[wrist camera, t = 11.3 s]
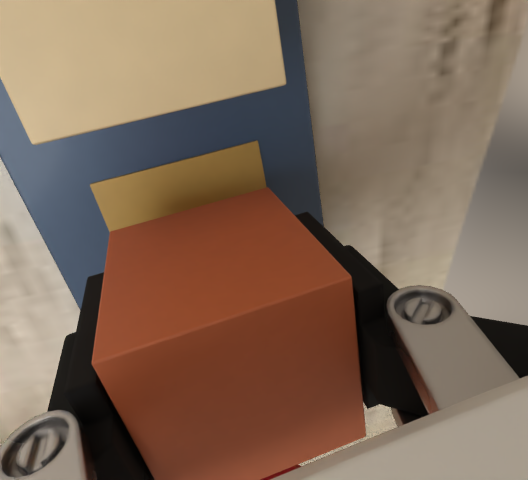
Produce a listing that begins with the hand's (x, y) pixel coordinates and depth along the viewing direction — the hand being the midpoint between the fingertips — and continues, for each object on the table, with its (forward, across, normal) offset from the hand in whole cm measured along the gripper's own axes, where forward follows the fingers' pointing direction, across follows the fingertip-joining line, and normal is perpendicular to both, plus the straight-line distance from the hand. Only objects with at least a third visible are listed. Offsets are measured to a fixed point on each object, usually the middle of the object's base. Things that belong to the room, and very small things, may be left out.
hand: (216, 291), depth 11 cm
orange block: (+1, 0, 0) cm, 1 cm away
